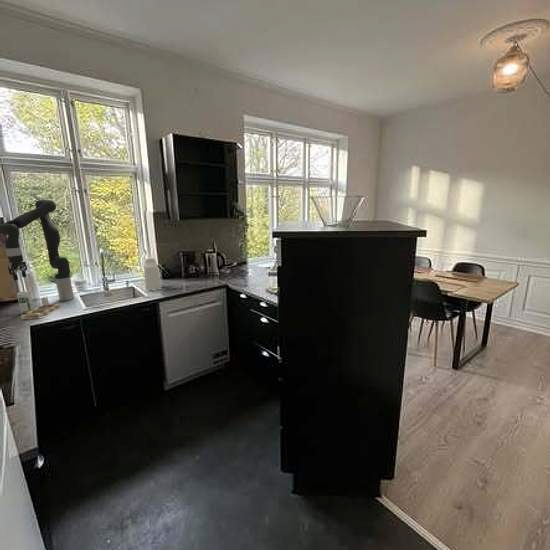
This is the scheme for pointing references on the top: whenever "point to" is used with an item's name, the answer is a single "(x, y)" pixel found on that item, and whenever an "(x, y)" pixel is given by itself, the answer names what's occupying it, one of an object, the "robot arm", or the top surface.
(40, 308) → the hole bar
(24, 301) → the syrup box
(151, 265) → the milk
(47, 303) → the steel pin
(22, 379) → the top surface
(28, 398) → the top surface
